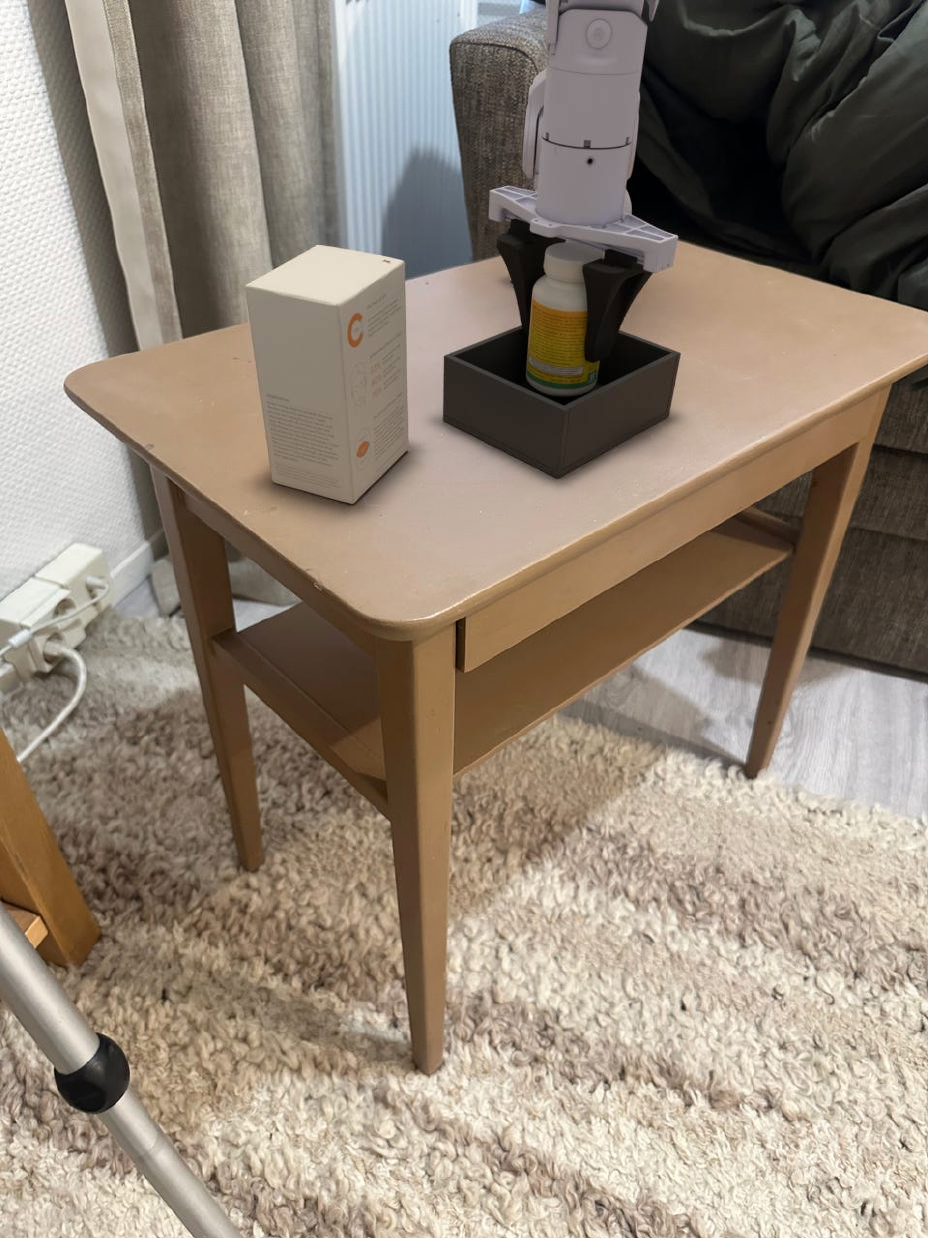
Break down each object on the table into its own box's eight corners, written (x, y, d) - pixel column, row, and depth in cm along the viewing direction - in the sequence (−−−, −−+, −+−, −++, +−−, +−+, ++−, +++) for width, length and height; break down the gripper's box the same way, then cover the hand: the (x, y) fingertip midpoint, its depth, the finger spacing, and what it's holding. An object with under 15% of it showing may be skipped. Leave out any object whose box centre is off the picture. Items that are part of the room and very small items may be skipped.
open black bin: (556, 368, 73) (562, 308, 70) (669, 416, 67) (681, 352, 64) (442, 420, 66) (443, 355, 63) (557, 478, 60) (564, 410, 57)
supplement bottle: (527, 364, 69) (537, 235, 63) (596, 369, 69) (613, 240, 63) (523, 395, 65) (533, 261, 59) (597, 401, 65) (615, 267, 59)
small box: (331, 429, 64) (317, 241, 56) (411, 449, 62) (408, 258, 54) (268, 483, 59) (241, 282, 50) (352, 507, 57) (340, 303, 48)
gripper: (460, 125, 58) (456, 329, 67) (642, 173, 51) (610, 395, 59) (532, 111, 62) (519, 305, 71) (711, 153, 55) (671, 364, 63)
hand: (565, 344), depth 65 cm, fingers closed on supplement bottle, 5 cm apart
